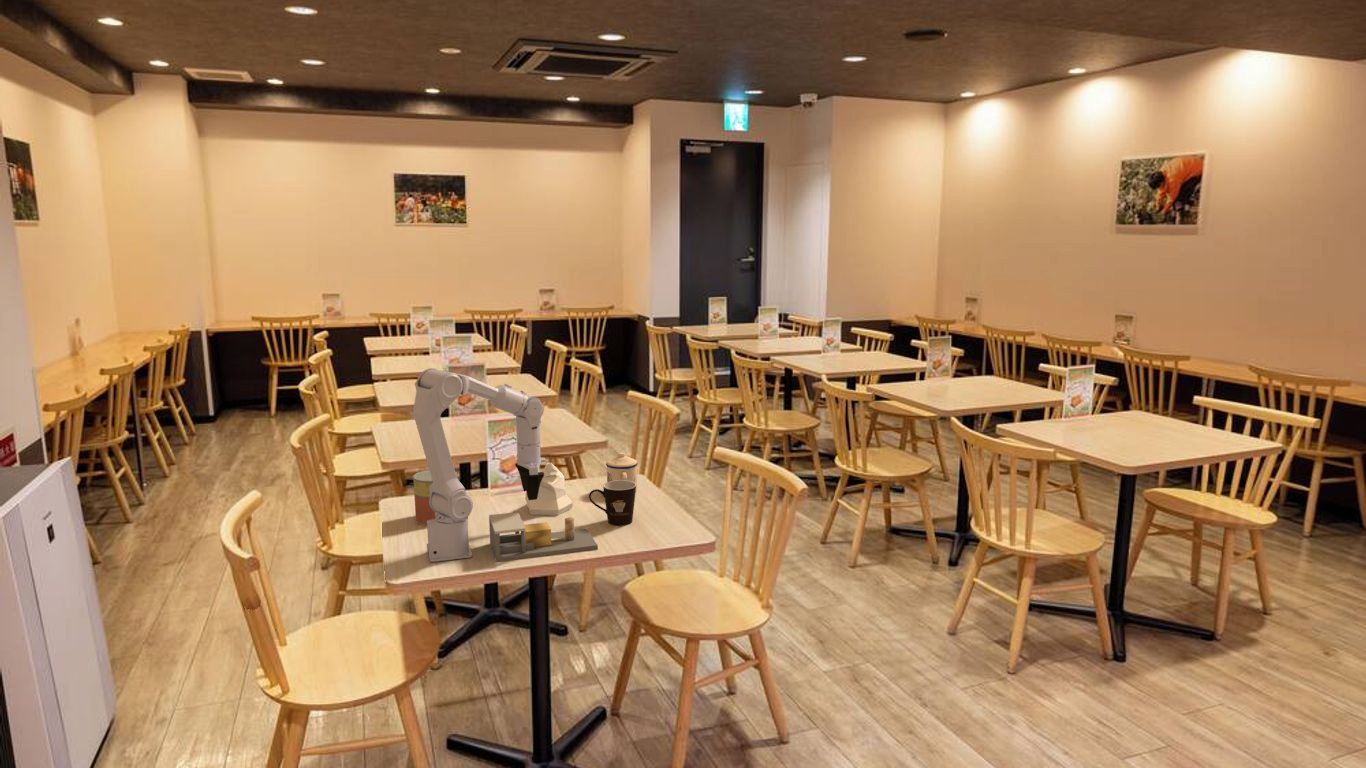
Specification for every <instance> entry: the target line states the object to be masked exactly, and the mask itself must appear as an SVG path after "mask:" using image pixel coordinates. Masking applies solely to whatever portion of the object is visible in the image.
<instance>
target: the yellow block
mask: <svg viewBox="0 0 1366 768" xmlns="http://www.w3.org/2000/svg"><path fill="white" fill-rule="evenodd" d="M524 526H525V528H526V531H525V540H526V543H531V542H533V544H534V547H538V546H546V545H551V541H558V540H573V539H574V530H575V517H566V518H564V531H565V537H564V538H556V539H551V533H552V528H551V527H550V525H549V523H548V522H538V523H530V524H524Z"/></svg>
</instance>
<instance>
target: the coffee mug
mask: <svg viewBox="0 0 1366 768" xmlns="http://www.w3.org/2000/svg"><path fill="white" fill-rule="evenodd" d="M602 485H603V486H602V488H603V490H601V489H597V488H596V489H593V490H591V491H590V492H589V495H588V499H589V501H590V502H591V503H592V504H593V505H594V506H595V507H596V508H598V509H599V510H602V511H603V512H605V514H606V517H607V523H608V524H609V525H611V526H615V527H623V526H628V525H631V524H632V523H633V518H634V510H635V501H636V500H635V499H636V493H637V491H636V483H634V482H632V481H627V480H615V481H609V482H607V481H605V483H603V484H602ZM635 492H636V493H635ZM594 493H599V494H601V495H602V497H603V498H604V502H605V508H604V507H602V506H601V505H600V504H597V502H595V501H594V500H593V499H592V494H594Z"/></svg>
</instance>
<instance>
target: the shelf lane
mask: <svg viewBox="0 0 1366 768" xmlns="http://www.w3.org/2000/svg"><path fill="white" fill-rule="evenodd" d="M488 521H489V522H488V523H489V526H488V528H489V544H490V546H491V550H492V553H493V556H494V558H495V561H496V562H505V561H513V560H521V559H528V558H537V557H544V556H553V555H561V554H568V553H577V552H579V553H580V552H584V551H585V552H587V551H594V550H598V547H599V546H598V545H599V544H597V542H596V540H595V539H594V537H593V535H592V534H591V532H589V530H588V528H580V529H574V539H573V540H558V541H551V545H546V546H538V547H534V544H533V542H531V543H526V540H525V531H526V528H525V526H524V525H525V523H524V521H523V520H522V517H521V516H520V513H519V511H516V512H514V511H513V512H506V513H505V512H504V513H495V514H488ZM508 533H511V534H508ZM501 534H502V535H501ZM564 537H565V530H562V531H554V532H551V539H556V538H564Z"/></svg>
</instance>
